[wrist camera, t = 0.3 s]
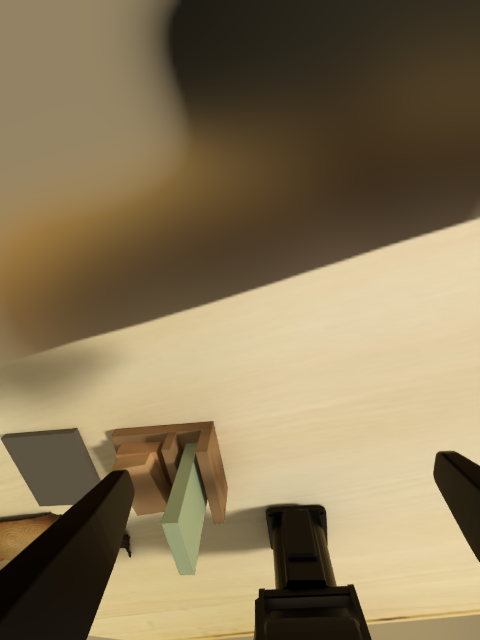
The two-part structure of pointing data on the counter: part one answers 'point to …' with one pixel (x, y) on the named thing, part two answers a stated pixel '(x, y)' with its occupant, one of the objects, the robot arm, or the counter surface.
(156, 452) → the offcut lower
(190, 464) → the block
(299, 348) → the counter surface
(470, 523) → the robot arm
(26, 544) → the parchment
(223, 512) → the rack
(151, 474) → the offcut upper
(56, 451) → the mat
